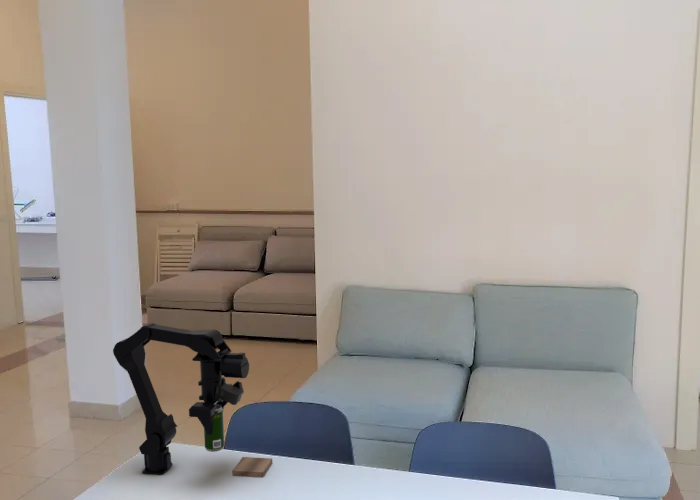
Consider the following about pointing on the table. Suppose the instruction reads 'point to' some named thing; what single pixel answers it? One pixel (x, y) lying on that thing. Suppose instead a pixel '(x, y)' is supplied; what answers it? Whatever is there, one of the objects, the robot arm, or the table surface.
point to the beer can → (215, 432)
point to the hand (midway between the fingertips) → (213, 430)
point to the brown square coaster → (252, 467)
